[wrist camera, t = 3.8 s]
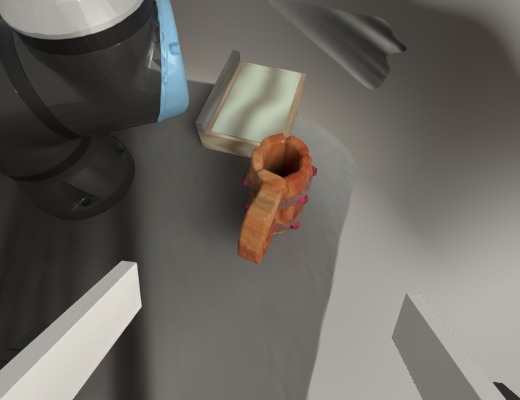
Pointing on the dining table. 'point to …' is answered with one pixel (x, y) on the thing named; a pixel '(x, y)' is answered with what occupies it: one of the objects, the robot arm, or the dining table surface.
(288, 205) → the mug
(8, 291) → the dining table surface
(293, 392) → the dining table surface
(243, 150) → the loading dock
